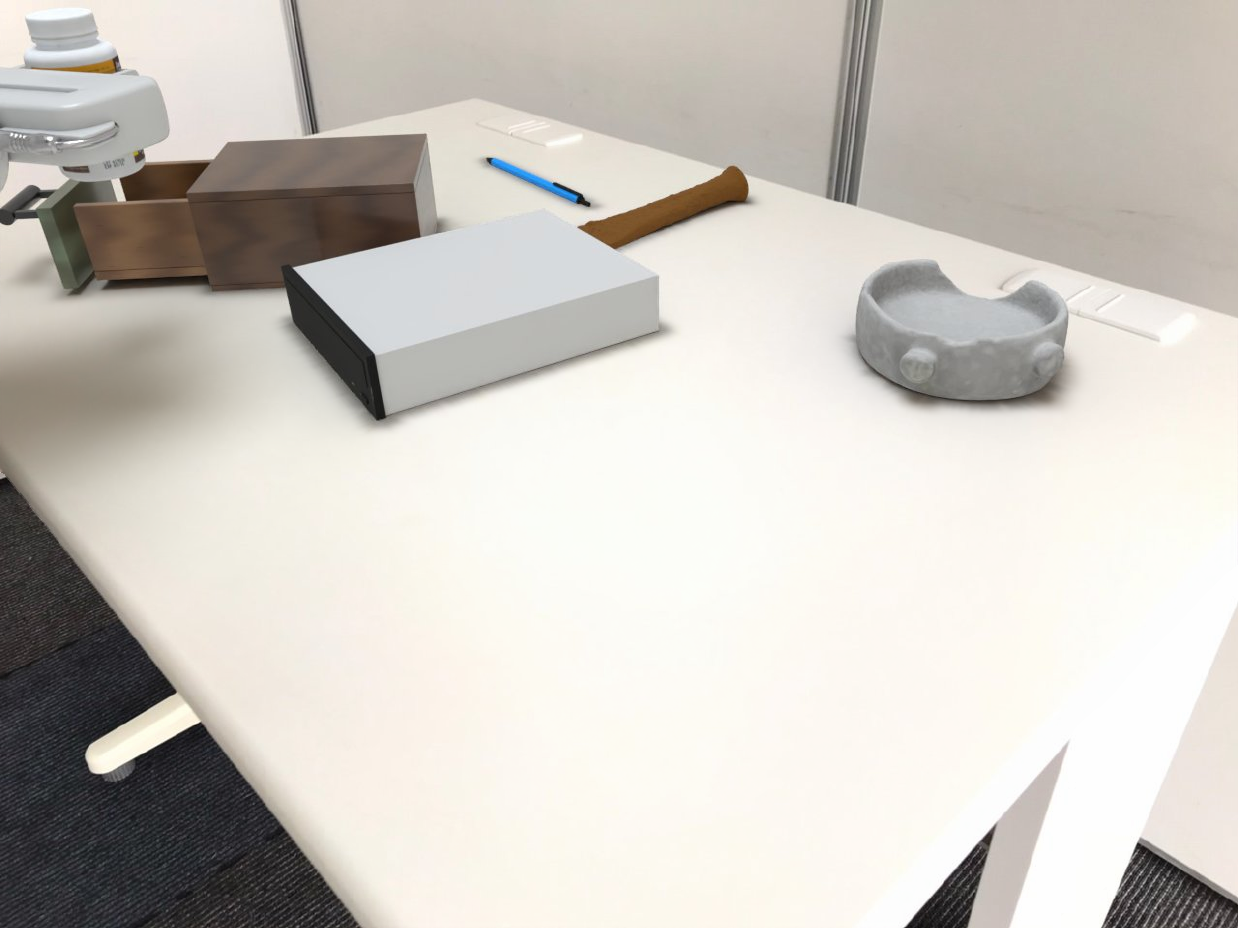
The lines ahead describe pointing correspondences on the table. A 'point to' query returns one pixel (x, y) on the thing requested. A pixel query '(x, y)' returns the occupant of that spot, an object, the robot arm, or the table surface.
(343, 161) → the cabinet
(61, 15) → the supplement bottle
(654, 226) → the primitive tool
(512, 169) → the pen
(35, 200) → the drawer
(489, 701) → the table surface
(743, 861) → the table surface
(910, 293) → the dish
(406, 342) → the disc drive
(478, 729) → the table surface
